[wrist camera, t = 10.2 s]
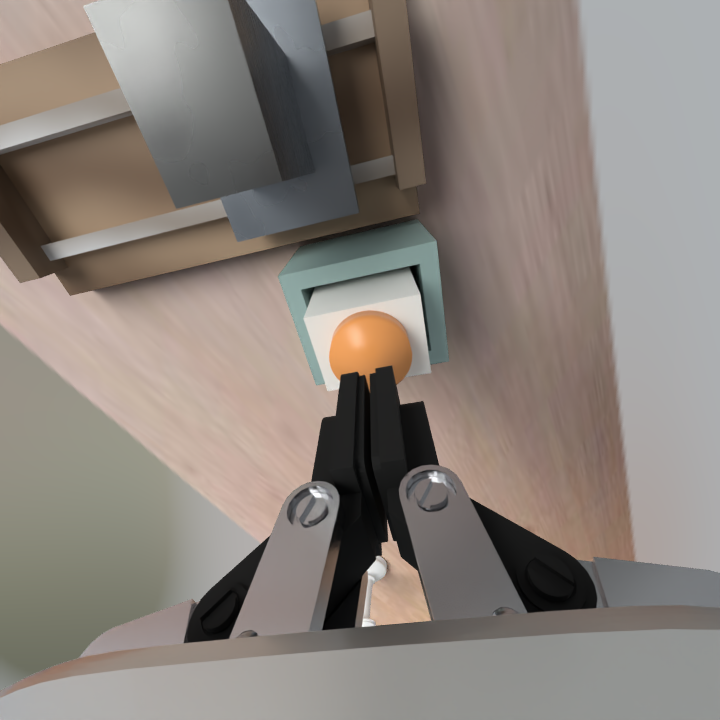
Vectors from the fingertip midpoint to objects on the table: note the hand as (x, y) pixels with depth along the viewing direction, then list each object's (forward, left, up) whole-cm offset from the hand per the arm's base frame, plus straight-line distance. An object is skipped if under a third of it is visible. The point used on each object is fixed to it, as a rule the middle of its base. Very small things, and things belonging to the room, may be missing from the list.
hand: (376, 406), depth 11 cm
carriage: (-9, -3, -9) cm, 13 cm away
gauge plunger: (0, 0, -9) cm, 9 cm away
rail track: (-9, -7, -12) cm, 17 cm away
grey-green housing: (0, 0, -12) cm, 12 cm away
